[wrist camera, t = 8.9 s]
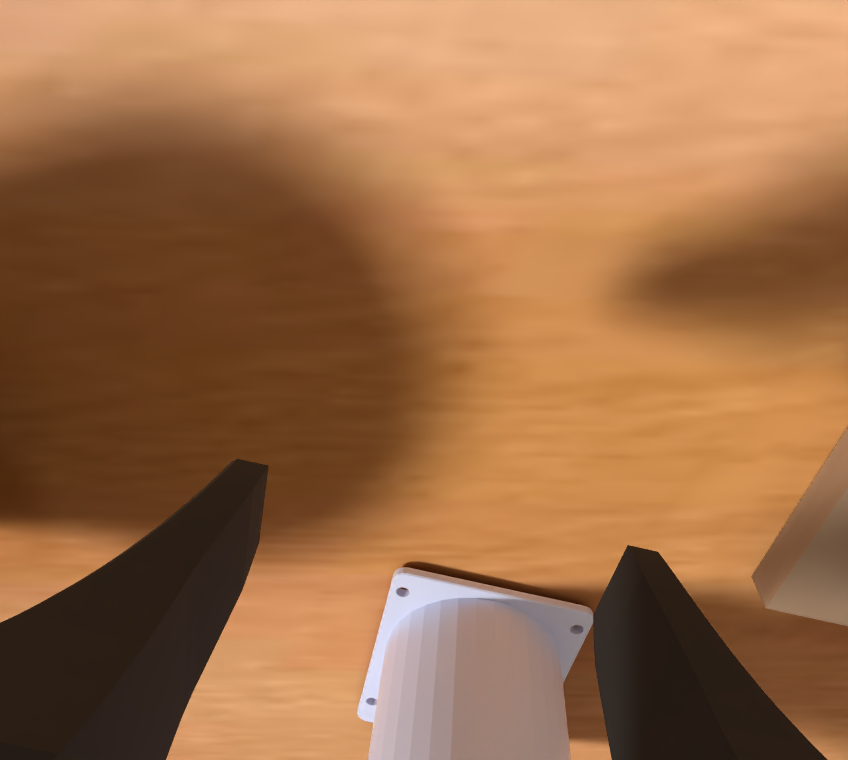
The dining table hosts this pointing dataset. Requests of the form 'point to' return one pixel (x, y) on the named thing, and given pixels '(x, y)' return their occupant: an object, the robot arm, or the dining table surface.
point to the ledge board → (812, 549)
